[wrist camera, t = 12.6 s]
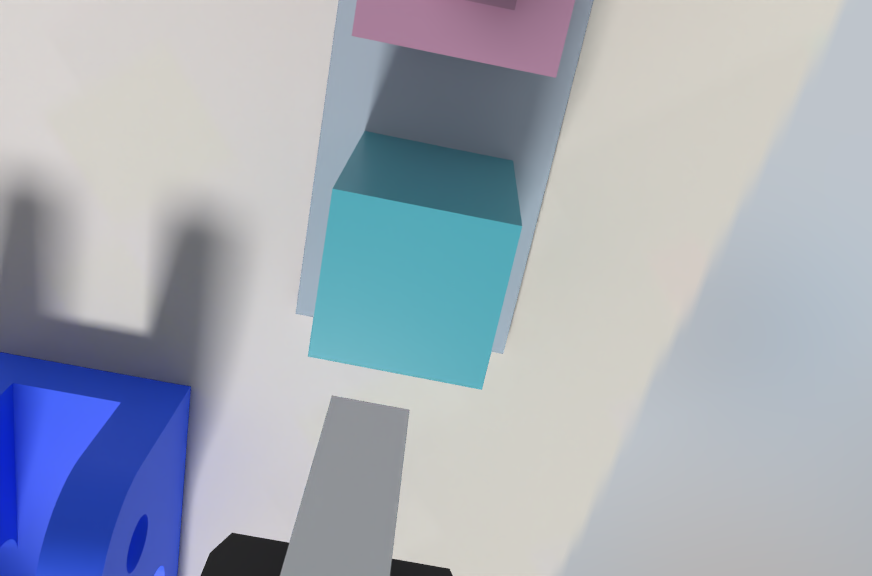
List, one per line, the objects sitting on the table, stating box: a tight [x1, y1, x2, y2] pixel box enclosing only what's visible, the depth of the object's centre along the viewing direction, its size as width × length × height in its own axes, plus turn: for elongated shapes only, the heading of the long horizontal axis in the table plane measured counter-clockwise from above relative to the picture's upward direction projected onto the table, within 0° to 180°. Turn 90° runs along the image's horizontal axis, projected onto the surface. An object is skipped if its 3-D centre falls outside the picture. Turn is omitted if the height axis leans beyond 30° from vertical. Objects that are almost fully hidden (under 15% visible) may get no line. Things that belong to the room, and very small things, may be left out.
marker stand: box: [296, 0, 593, 354], centre depth 25 cm, size 8×18×8 cm, turn 169°
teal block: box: [308, 131, 522, 390], centre depth 27 cm, size 5×5×7 cm
